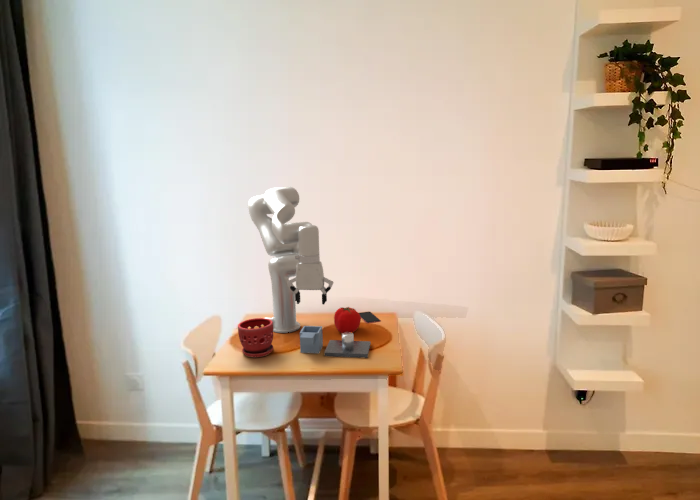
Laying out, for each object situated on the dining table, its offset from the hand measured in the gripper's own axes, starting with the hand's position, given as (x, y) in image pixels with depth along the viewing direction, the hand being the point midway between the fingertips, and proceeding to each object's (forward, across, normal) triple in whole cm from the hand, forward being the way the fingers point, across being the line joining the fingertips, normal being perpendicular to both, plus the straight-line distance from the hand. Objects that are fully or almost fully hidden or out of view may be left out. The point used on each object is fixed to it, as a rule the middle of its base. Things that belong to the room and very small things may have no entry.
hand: (311, 303), depth 192 cm
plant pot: (+19, -20, -5) cm, 28 cm away
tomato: (+19, +11, +20) cm, 29 cm away
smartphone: (+19, +18, +37) cm, 45 cm away
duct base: (+18, +14, 0) cm, 23 cm away
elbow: (+18, 0, -2) cm, 19 cm away
